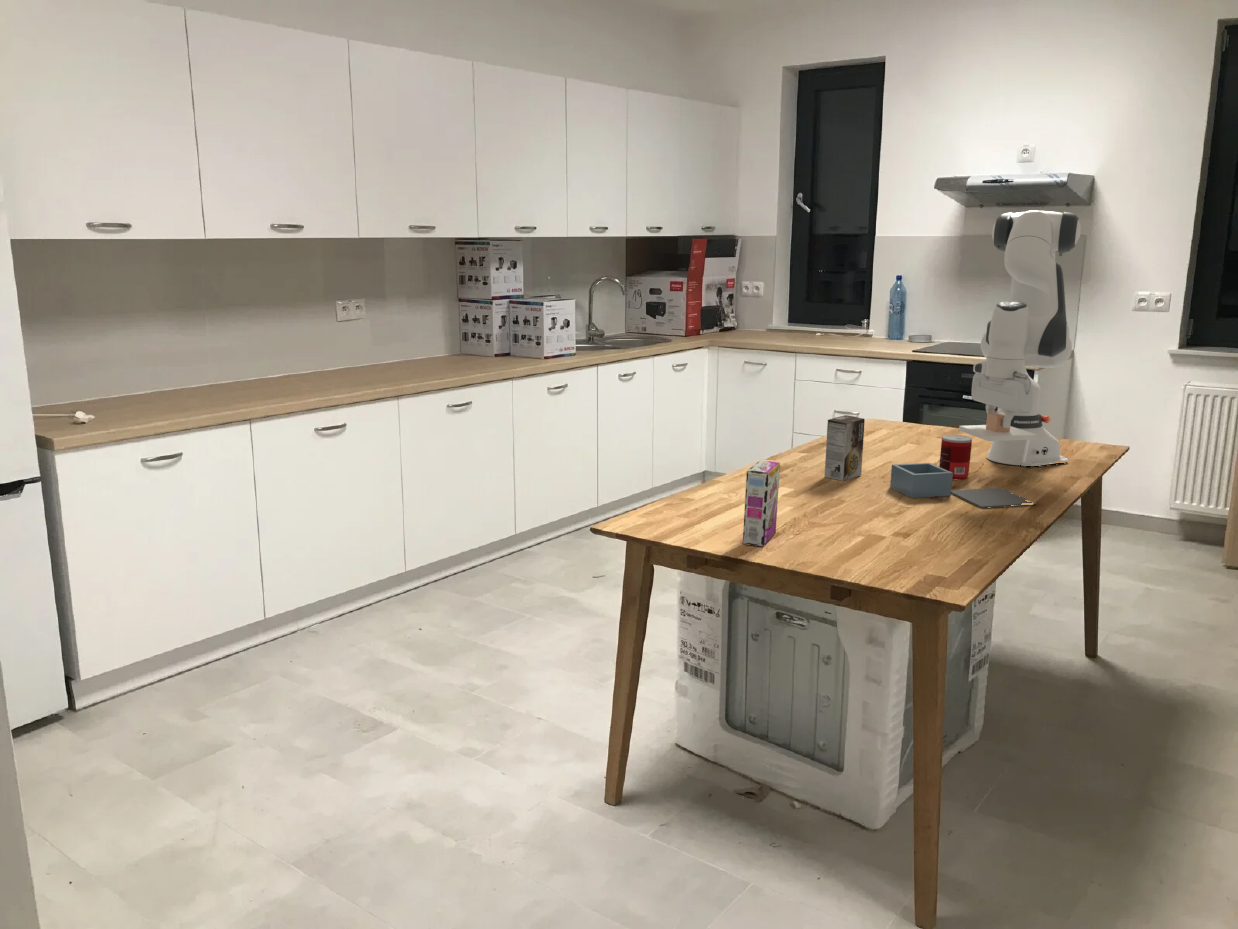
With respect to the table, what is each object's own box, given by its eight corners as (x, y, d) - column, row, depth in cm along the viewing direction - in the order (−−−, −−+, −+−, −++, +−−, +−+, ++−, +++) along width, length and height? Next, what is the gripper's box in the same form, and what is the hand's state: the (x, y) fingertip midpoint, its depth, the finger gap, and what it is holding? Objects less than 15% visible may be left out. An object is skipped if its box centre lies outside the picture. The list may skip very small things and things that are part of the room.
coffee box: (841, 471, 269) (845, 414, 265) (861, 475, 264) (866, 418, 260) (823, 477, 262) (826, 418, 259) (843, 481, 258) (847, 422, 254)
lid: (1004, 428, 246) (1006, 408, 245) (1036, 439, 234) (1039, 418, 233) (959, 430, 244) (961, 410, 242) (989, 441, 231) (991, 419, 230)
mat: (999, 489, 252) (999, 487, 251) (1035, 505, 237) (1036, 503, 237) (947, 492, 248) (947, 490, 248) (981, 508, 234) (981, 506, 234)
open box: (927, 484, 256) (929, 462, 254) (950, 495, 245) (952, 472, 244) (890, 486, 253) (891, 464, 252) (911, 498, 243) (913, 474, 241)
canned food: (973, 476, 265) (977, 437, 262) (960, 481, 259) (964, 441, 256) (946, 471, 270) (950, 433, 267) (933, 476, 264) (937, 437, 261)
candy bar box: (764, 548, 204) (768, 473, 200) (742, 545, 206) (745, 470, 202) (777, 533, 214) (781, 461, 210) (755, 530, 216) (758, 459, 212)
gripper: (1043, 375, 226) (1036, 433, 229) (991, 363, 245) (986, 417, 248) (1019, 375, 224) (1012, 433, 228) (969, 364, 244) (964, 417, 247)
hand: (998, 425), depth 238 cm, fingers closed on lid, 4 cm apart
